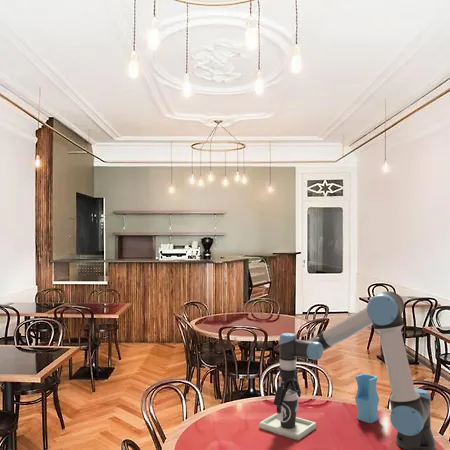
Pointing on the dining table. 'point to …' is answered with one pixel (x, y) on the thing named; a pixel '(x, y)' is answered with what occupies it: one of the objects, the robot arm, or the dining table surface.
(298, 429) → the tray
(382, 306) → the robot arm
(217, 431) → the dining table surface
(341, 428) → the dining table surface
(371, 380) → the vase
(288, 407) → the coffee cup
